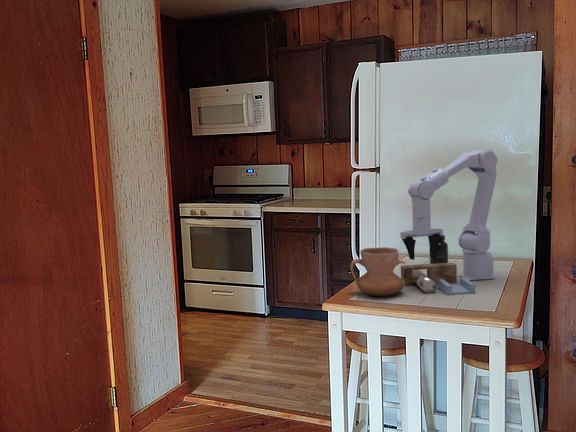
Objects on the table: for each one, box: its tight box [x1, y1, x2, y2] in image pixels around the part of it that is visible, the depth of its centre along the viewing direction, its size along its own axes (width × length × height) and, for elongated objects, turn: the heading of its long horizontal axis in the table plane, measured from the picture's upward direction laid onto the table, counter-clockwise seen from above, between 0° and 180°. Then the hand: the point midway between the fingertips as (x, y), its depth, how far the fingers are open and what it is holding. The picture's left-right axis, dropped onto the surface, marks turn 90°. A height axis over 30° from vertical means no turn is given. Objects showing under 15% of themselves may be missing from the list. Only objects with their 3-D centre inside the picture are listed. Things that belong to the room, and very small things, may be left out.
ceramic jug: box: [350, 246, 407, 297], centre depth 176 cm, size 18×14×14 cm
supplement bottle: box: [428, 234, 449, 264], centre depth 209 cm, size 7×7×12 cm
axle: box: [413, 270, 438, 294], centre depth 181 cm, size 4×16×4 cm, turn 2°
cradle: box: [437, 277, 476, 296], centre depth 175 cm, size 9×9×3 cm
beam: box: [400, 262, 458, 287], centre depth 186 cm, size 18×4×6 cm, turn 93°
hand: (422, 258), depth 181 cm, fingers open, 7 cm apart
